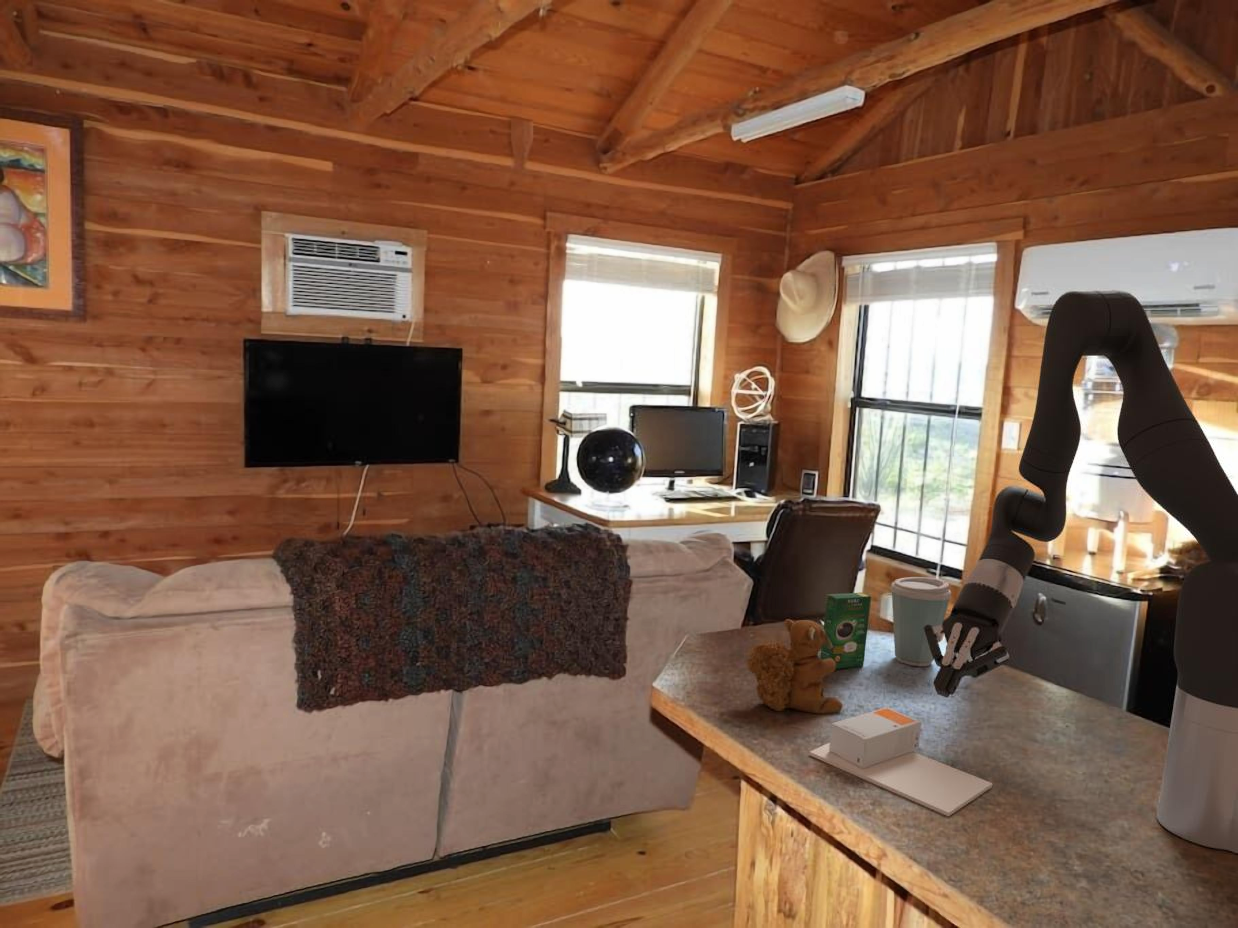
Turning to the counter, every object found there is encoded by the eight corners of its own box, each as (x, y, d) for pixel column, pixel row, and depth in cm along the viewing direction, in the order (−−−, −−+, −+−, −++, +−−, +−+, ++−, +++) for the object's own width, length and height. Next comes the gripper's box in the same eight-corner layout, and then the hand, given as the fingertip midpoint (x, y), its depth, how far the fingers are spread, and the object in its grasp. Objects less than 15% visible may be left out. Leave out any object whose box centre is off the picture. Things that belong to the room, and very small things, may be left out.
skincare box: (922, 720, 124) (866, 739, 117) (919, 749, 125) (863, 770, 118) (886, 705, 129) (830, 722, 122) (883, 733, 130) (827, 751, 123)
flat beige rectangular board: (992, 786, 116) (992, 783, 116) (948, 816, 108) (948, 812, 108) (857, 732, 131) (857, 729, 131) (809, 755, 122) (809, 751, 122)
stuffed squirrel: (847, 712, 138) (855, 629, 137) (768, 722, 133) (776, 636, 131) (809, 687, 147) (816, 610, 146) (735, 696, 142) (741, 615, 140)
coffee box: (854, 661, 161) (861, 590, 160) (865, 666, 159) (872, 594, 157) (818, 665, 158) (825, 593, 156) (828, 671, 155) (835, 598, 154)
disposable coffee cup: (891, 668, 158) (900, 586, 156) (876, 648, 169) (884, 570, 167) (952, 673, 158) (961, 590, 156) (932, 652, 169) (941, 574, 167)
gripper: (940, 571, 137) (891, 665, 130) (1028, 592, 128) (980, 695, 121) (952, 599, 142) (905, 691, 135) (1038, 622, 132) (992, 722, 125)
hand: (941, 693), depth 128 cm, fingers closed
